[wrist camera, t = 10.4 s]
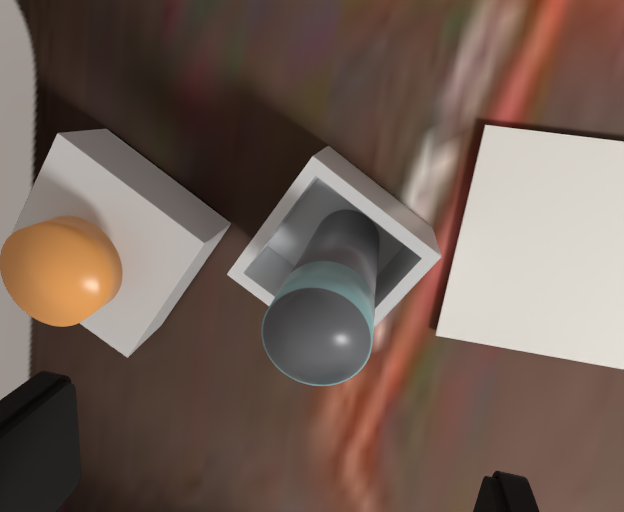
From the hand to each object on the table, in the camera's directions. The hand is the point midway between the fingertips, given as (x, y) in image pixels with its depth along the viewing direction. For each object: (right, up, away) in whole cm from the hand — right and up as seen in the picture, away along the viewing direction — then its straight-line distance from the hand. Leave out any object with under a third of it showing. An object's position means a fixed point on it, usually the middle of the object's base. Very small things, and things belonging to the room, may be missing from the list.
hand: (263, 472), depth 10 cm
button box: (-10, +6, +18) cm, 21 cm away
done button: (-11, +4, +13) cm, 17 cm away
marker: (+3, +6, +15) cm, 16 cm away
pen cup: (+3, +6, +16) cm, 17 cm away
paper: (+17, +4, +13) cm, 22 cm away
